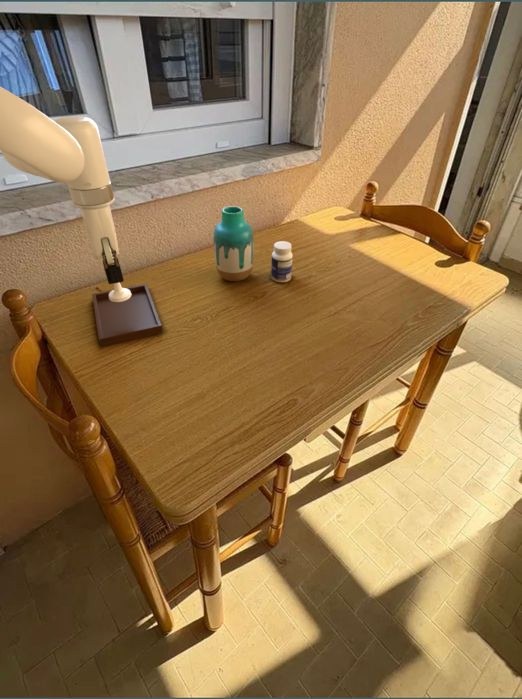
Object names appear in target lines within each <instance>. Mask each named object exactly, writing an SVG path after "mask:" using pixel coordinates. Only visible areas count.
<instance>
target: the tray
mask: <svg viewBox="0 0 522 699" xmlns="http://www.w3.org/2000/svg"><path fill="white" fill-rule="evenodd" d="M125 288H126V289H129V290H130V292H131V297H130V298H129V299H127V300H125V301H122V302H113V301H111V300H110V299H109V293H110V292H111V291H112V290H113V289H110V290H106V291H100V292H95V293H91V294H92V295H91V297H92V302H93V310H94V316H95V323H96V329H97V336H98V342H99V343H100V347H103V348H104V347H107V346H111V345H115V344H120V343H125V342H128V341H132V340H133V341H134V340H137V339H142V338H145V337H150V336H155V335H159V334H163V333H164V330H163V326H162V322H161V320H160V317H159V314H158V311H157V308H156V305H155V302H154V300H153V298H152V294H151V292H150V290H149V287H148V283H144V284H137V285H132V286H127V287H125Z"/></svg>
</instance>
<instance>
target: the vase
mask: <svg viewBox="0 0 522 699" xmlns="http://www.w3.org/2000/svg"><path fill="white" fill-rule="evenodd" d="M244 215H245V214H244V209H243V208H242V207H241V206H237V205H229V206H225V207H223V208H222V209H221V221H220V222H218V223H217V224H216V225H215V227H214V229H213V255H214V256H213V257H214V262H215V268H216V271H217V273H218V275H219V276H220V277H221V278H222V279H224V280H225V281H228V282H240V281H244V280H246V279H247V278H248V277H249V276H250V275H251V273H252V271H253V267H254V259H255V258H254V257H255V242H254V231H253V228H252V226H251V225H250V223H248V222H247V221H245V216H244Z"/></svg>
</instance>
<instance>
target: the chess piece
mask: <svg viewBox="0 0 522 699" xmlns="http://www.w3.org/2000/svg"><path fill="white" fill-rule="evenodd" d="M113 258H114V256H113ZM113 288H114V289H111V290H112V291H111V292H110V293H109V299H110V300H111V301H113V302H122V301H125V300H127V299H129V298H130V297H131V292H130V290H129V289H126V287H122V284H121V282H119V283H114V284H113Z"/></svg>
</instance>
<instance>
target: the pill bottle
mask: <svg viewBox="0 0 522 699" xmlns="http://www.w3.org/2000/svg"><path fill="white" fill-rule="evenodd" d="M293 256H294V255H293V252H292V243H290V242H289V241H285V240H280V241H276V242H275V243H274V244H273V251H272V253H271V267H270V276H271V279H272V281H274V282H276V283H287V282H288V281H291V279H292V274H293V273H292V272H293V271H292V270H293V260H294V259H293Z"/></svg>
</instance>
